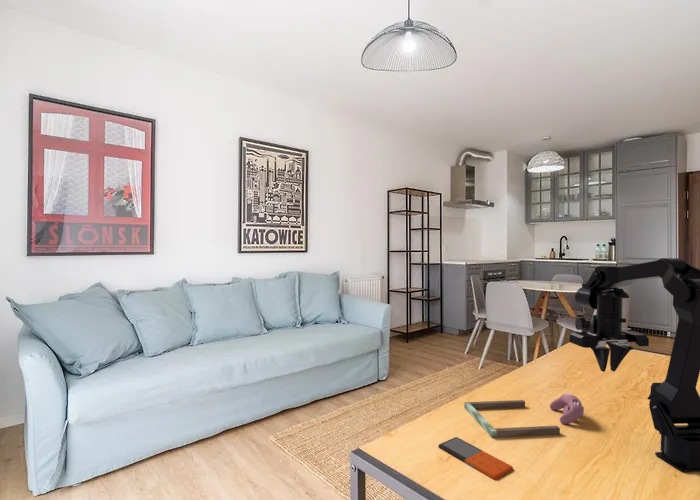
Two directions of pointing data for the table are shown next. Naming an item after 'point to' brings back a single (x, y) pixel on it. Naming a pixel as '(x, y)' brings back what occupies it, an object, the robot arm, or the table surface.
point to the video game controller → (568, 408)
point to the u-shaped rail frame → (506, 432)
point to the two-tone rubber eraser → (476, 458)
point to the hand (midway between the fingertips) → (607, 371)
